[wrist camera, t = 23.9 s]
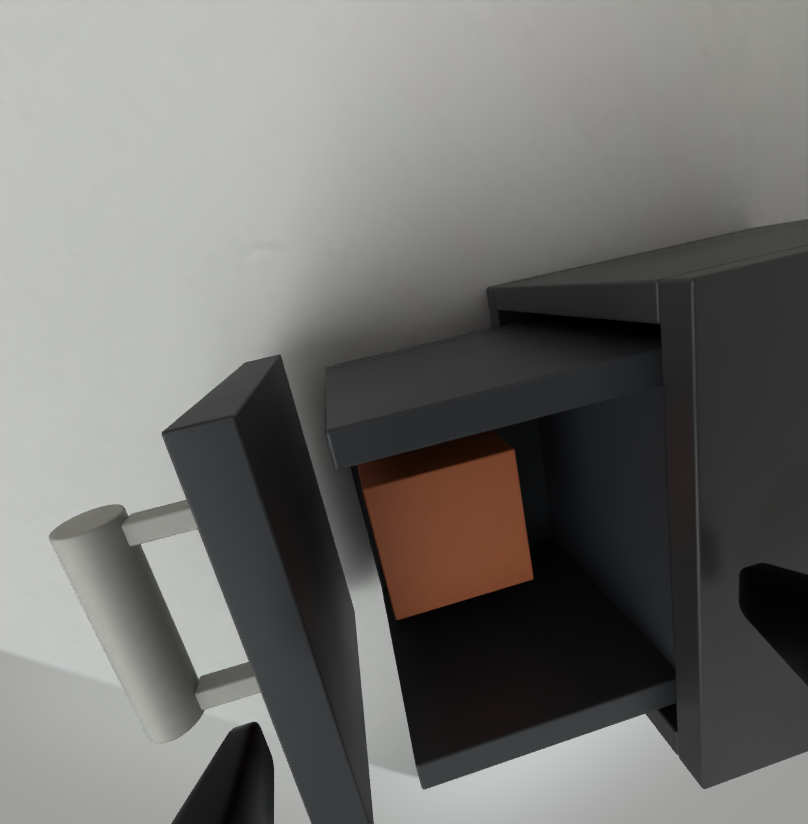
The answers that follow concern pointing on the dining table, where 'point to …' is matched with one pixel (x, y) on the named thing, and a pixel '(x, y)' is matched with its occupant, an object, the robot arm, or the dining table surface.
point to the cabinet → (716, 465)
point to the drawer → (325, 582)
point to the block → (447, 522)
